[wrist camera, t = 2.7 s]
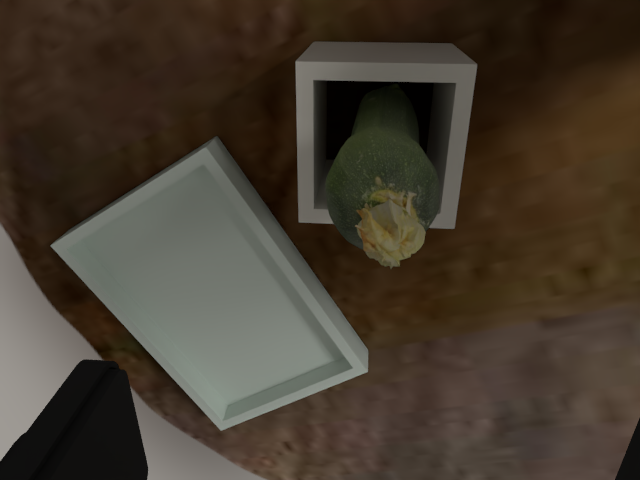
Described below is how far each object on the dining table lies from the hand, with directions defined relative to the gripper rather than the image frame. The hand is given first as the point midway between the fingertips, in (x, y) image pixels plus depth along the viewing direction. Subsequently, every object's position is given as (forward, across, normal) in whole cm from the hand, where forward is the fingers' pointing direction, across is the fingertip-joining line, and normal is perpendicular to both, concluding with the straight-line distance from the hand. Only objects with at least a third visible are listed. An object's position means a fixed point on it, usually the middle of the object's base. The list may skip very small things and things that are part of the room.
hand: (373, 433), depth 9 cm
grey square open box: (+25, -1, 0) cm, 25 cm away
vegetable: (+25, -1, 0) cm, 25 cm away
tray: (+25, +10, +14) cm, 30 cm away
